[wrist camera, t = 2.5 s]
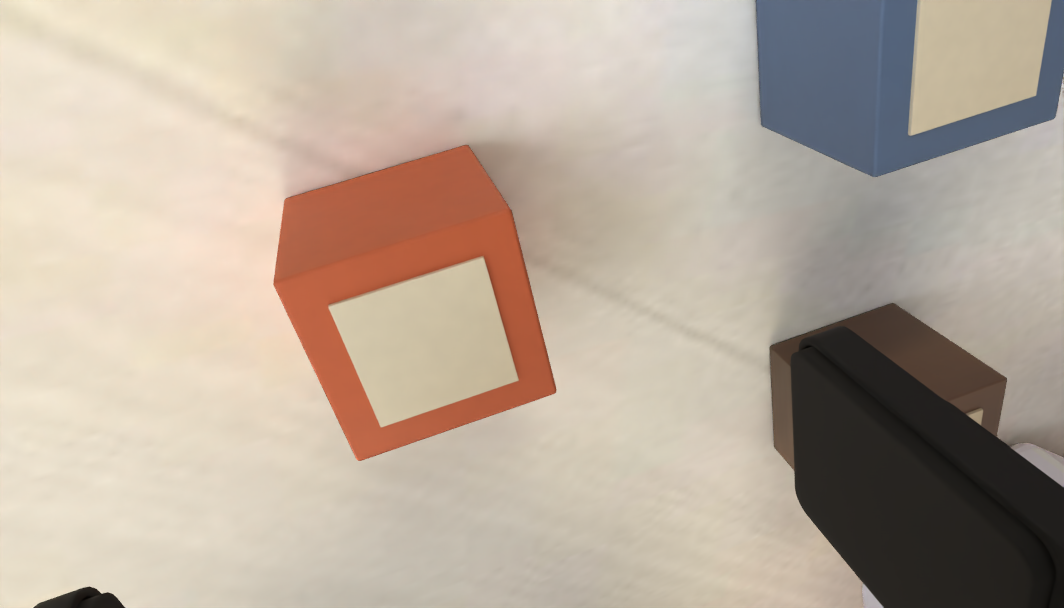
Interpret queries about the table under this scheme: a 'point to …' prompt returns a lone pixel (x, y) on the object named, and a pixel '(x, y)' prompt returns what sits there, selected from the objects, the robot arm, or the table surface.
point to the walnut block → (911, 350)
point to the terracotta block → (412, 300)
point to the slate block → (906, 74)
